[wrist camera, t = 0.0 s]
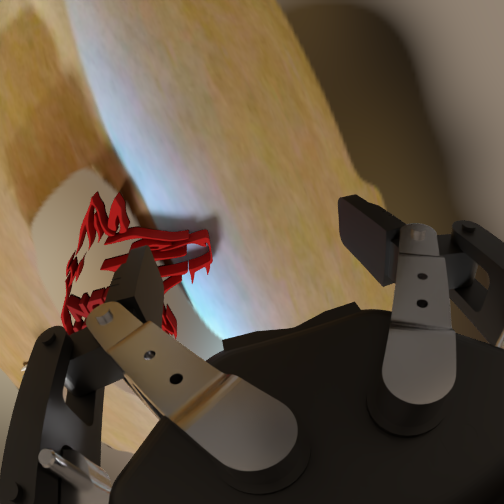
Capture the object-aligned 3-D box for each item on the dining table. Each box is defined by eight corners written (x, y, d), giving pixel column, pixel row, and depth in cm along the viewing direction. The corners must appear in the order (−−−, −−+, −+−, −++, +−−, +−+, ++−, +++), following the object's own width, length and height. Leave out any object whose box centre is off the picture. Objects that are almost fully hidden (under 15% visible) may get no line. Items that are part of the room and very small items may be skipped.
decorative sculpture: (87, 371, 49) (3, 235, 34) (90, 359, 51) (12, 227, 37) (240, 338, 51) (188, 165, 36) (237, 326, 54) (188, 161, 39)
